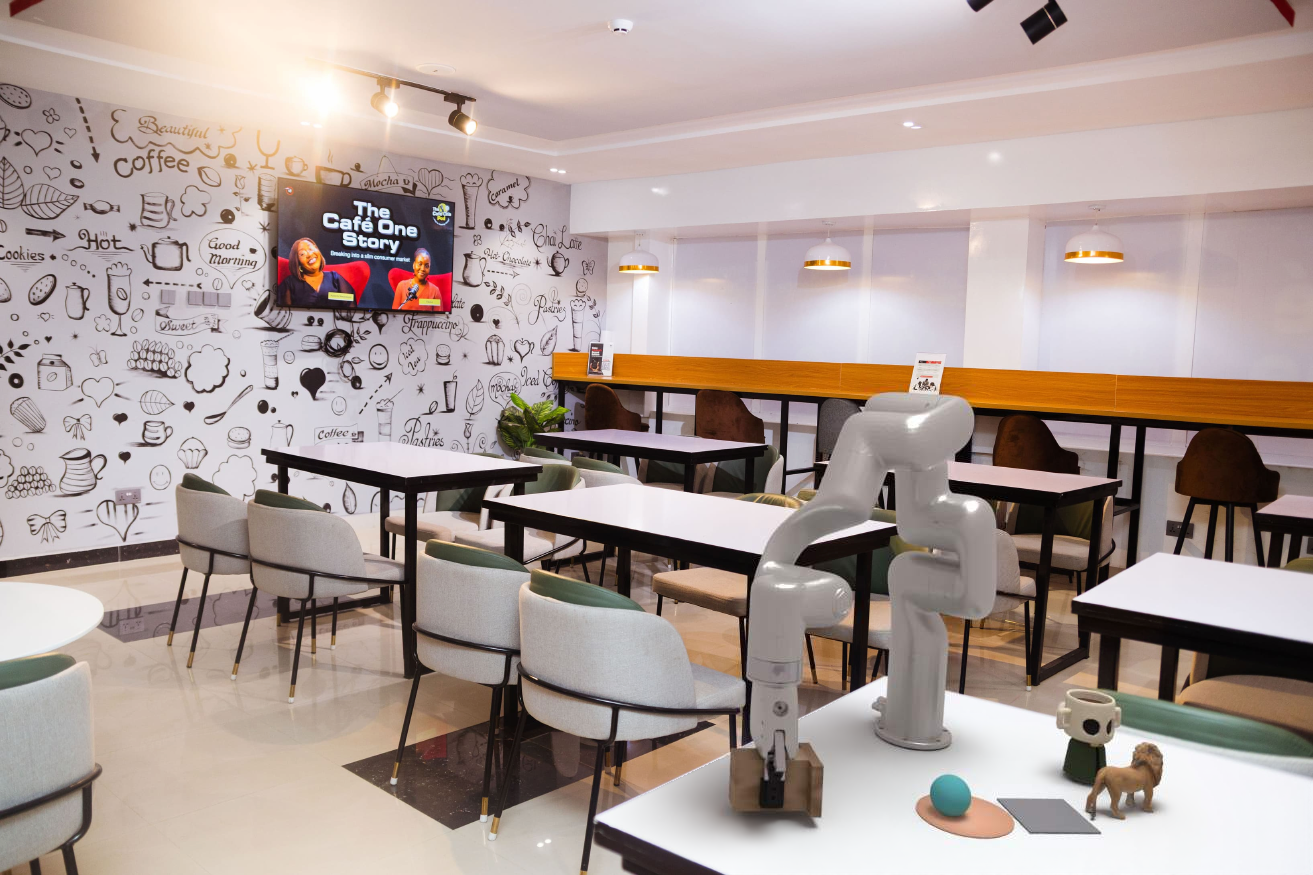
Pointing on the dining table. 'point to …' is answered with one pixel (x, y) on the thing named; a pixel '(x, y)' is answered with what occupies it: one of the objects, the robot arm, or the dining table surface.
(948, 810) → the ball
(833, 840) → the dining table surface
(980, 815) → the disc
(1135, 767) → the lion figurine
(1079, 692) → the character mug
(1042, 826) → the far square
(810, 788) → the t-shaped block
